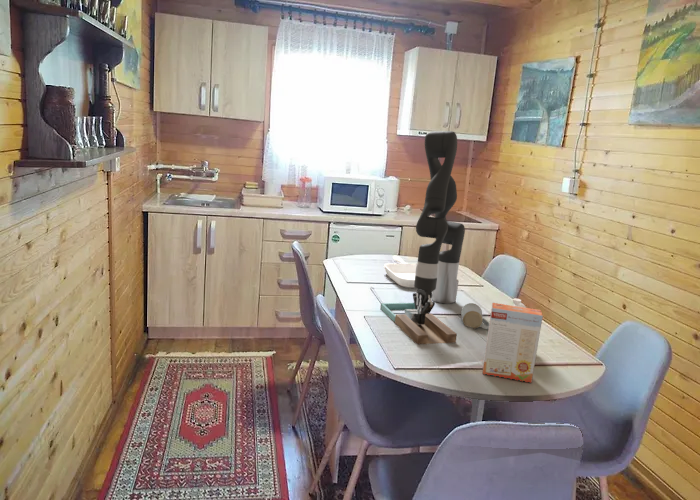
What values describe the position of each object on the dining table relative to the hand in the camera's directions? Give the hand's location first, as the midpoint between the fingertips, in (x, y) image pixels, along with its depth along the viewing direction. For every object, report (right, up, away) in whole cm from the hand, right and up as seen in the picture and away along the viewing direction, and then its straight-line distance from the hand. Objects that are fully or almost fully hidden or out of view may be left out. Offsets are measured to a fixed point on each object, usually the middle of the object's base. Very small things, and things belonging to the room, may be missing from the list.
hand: (420, 323), depth 185 cm
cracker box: (+22, -12, -27) cm, 37 cm away
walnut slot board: (+1, -4, -2) cm, 4 cm away
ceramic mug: (+21, -3, +11) cm, 24 cm away
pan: (+4, +13, +72) cm, 73 cm away
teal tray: (-4, +1, +14) cm, 14 cm away
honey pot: (+29, -8, -8) cm, 31 cm away
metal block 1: (-2, 0, +7) cm, 8 cm away
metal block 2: (-1, -1, +4) cm, 4 cm away
